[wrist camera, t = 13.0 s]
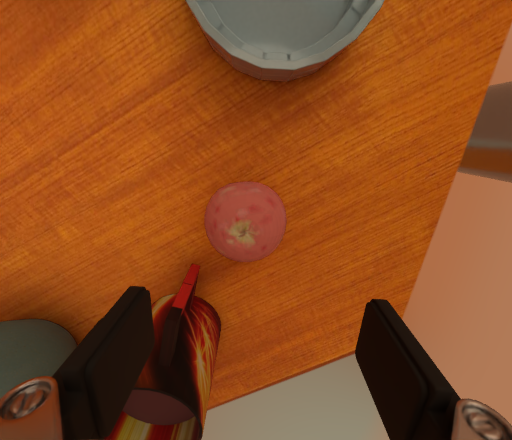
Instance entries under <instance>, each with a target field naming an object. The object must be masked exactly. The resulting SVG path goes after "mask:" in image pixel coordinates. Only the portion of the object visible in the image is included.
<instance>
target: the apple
mask: <svg viewBox="0 0 512 440" xmlns="http://www.w3.org/2000/svg"><path fill="white" fill-rule="evenodd" d="M285 228H286V211H285V208H284V205H283V203H282V201H281V199H280V198H279V196H278V195H277V193H276V192H274V191H273V190H272V189H271V188H269V187H268V186H266V185H263V184H261V183H258V182H237V183H231V184H228V185H226V186H224V187H222V188H220V189H218V190H217V192H216V193H215V194H214V195H213V196H212V197H211V199H210V201H209V203H208V205H207V208H206V213H205V229H206V233H207V236H208V238H209V240H210V242H211V244H212V246H213V247H214V248H215V249H216V250H217V251H218V252H219V253H220V254H222V255H223V256H225V257H227V258H229V259H232V260H234V261H239V262H252V261H256V260H260V259H262V258H264V257H266V256H268V255H269V254H270V253H272V252H273V251H274V250H275V249H276V248H277V246H278V245H279V243H280V242H281V240H282V237H283V235H284V232H285Z"/></svg>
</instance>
